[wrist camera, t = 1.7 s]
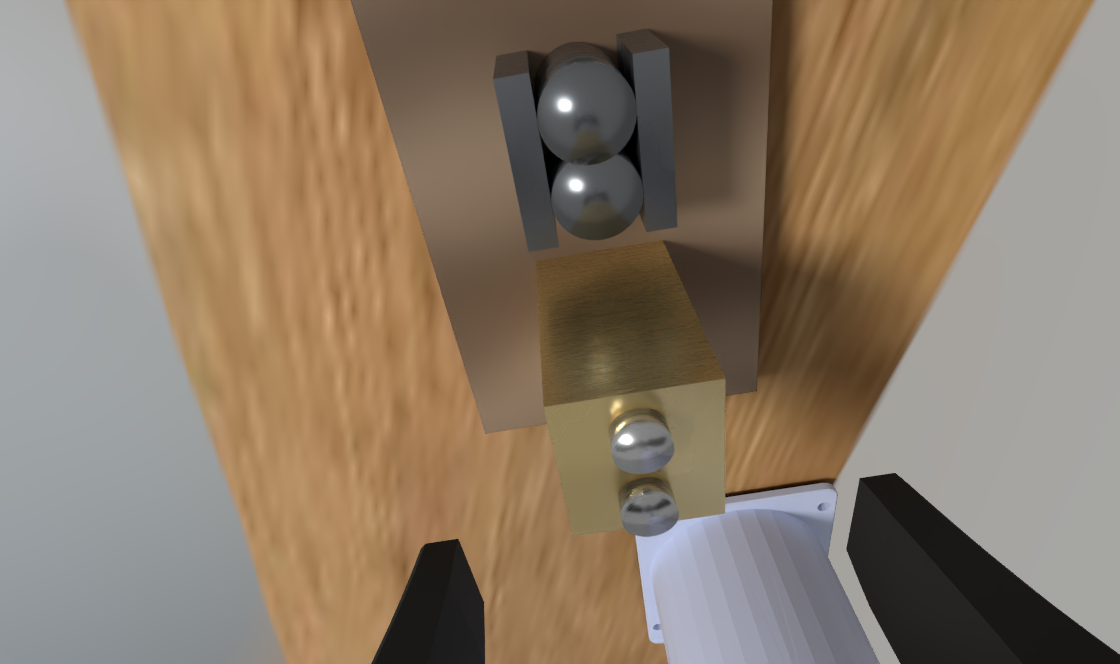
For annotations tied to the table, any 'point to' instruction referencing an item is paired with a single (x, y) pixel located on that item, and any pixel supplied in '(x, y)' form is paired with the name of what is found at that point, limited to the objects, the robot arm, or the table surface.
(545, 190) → the steel ball guide
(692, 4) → the board
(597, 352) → the brushed brass block
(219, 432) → the table surface
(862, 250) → the table surface
